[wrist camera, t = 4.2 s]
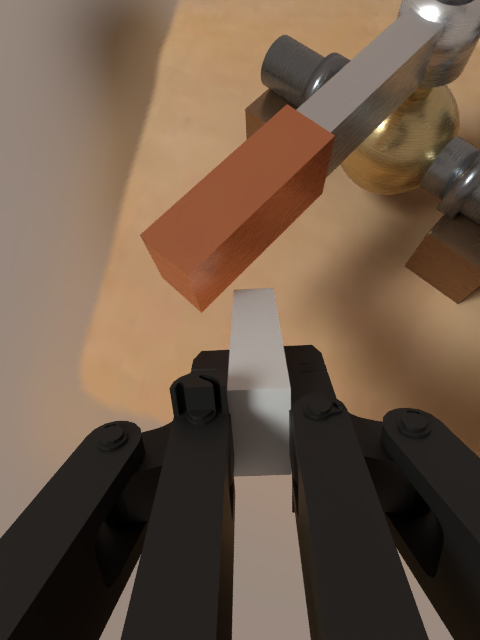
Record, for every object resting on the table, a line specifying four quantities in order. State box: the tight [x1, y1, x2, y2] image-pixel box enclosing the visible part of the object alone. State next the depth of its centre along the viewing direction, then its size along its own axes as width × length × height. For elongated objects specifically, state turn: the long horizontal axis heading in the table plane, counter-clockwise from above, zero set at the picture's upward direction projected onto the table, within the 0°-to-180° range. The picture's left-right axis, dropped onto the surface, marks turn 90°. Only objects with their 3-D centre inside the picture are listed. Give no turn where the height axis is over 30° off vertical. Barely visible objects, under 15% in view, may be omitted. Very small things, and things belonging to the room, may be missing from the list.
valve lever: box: [140, 0, 480, 313], centre depth 16 cm, size 18×4×4 cm, turn 137°
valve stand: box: [245, 35, 480, 304], centre depth 24 cm, size 18×7×10 cm, turn 47°
